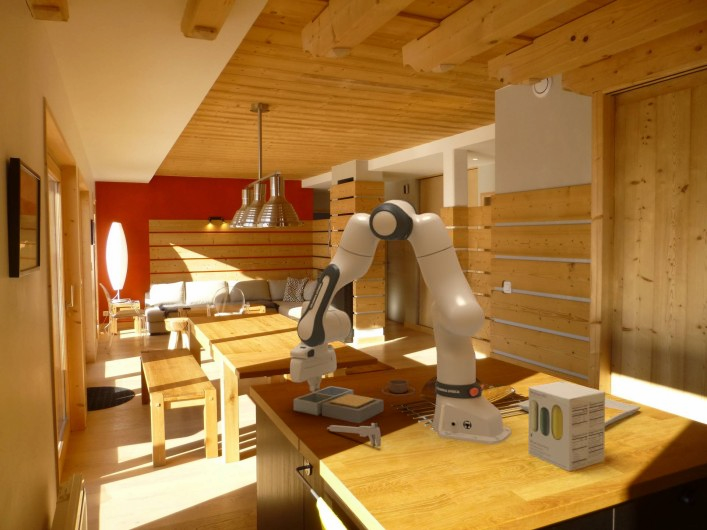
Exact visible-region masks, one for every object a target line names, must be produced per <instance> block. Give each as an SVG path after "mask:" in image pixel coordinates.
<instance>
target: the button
mask: <svg viewBox="0 0 707 530" xmlns="http://www.w3.org/2000/svg"><path fill="white" fill-rule="evenodd" d="M368 397H369V396H364V397H362V395H358V396H357V394H353V395H351V394H348V395H346V396H343V397H340V398H338V399H335V400H333V401H331V404H335V405H340V406H345V407H351V408H356V409H358V408H361V407H363V406H365V405H368V404H370V403H372V402H375V399H376V398H375V399H373V398H374V397H369V398H368Z"/></svg>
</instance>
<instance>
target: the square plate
mask: <svg viewBox="0 0 707 530" xmlns="http://www.w3.org/2000/svg"><path fill="white" fill-rule="evenodd" d="M517 406H519V407H520V408H521V409H522V410H524V411H525V412H527V413H529V399H526V400H524V401H522V402H519V403H517ZM605 408H609V409H614V410H620V411H622V412H620V413H618V414H616V415H614V416H612V417H610V418H609V419H607V420H605V427H607V426H608V425H610V424H613V423H615V422H617V421H619V420H622V419H625V418H627V417H630V416H631V415H633V414H635V413H636V412H637V411H639V410H640V409H641V407H640V406H639V405H635V404H631V403H627V402H621V401H617V400H614V399H610V398H606V397H605Z"/></svg>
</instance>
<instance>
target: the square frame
mask: <svg viewBox="0 0 707 530" xmlns="http://www.w3.org/2000/svg"><path fill="white" fill-rule="evenodd" d="M346 395H348V394H346ZM346 395H343V396H346ZM351 395H352V394H351ZM356 395H357V394H356ZM343 396H340V397H343ZM357 396H359V395H357ZM361 396H362V395H361ZM340 397H338V398H340ZM362 397H365V396H364V395H363V396H362ZM367 397H368V398H370V397H369V396H367ZM338 398H335V399H338ZM372 398H373V399H375V402H372V403H370V404H368V405H365V406H363V407H361V408H358V409H356V408H351V407H345V406H340V405H335V404H331V401H333V400H335V399H333V400H330V401H327V402H325V403H322V414H321V416H323V417H328V418H332V419H337V420H341V421H345V422H350V423H354V424H355V423H356V424H360V423H363V422H364V421H367V420H369V419H371V418H373V417H374V416H377V415H378V414H381V413H383V412H385V411H384V406H385V405H384V399H381V398H374V397H372Z"/></svg>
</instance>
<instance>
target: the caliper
mask: <svg viewBox="0 0 707 530" xmlns="http://www.w3.org/2000/svg"><path fill="white" fill-rule="evenodd" d="M326 429H327V430H329V431H330V432H338V433H347V434H348V433H349V434H351V433H352V434H358V435H359V437H364V438H366V437H368V438H369V441H370V445H371V447H377V448H378V447H381V445H382V444H381V443H382V441H381V440H382V437H381V436H382V435H381V429H380V427H378V422H376V423H374V422H371V423H370V425H369V426H367V425H360V426H358V427H357V426H349V425H348V426H346V425H336V424H335V425H334V424H331V425H329V427H327V428H326Z"/></svg>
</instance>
